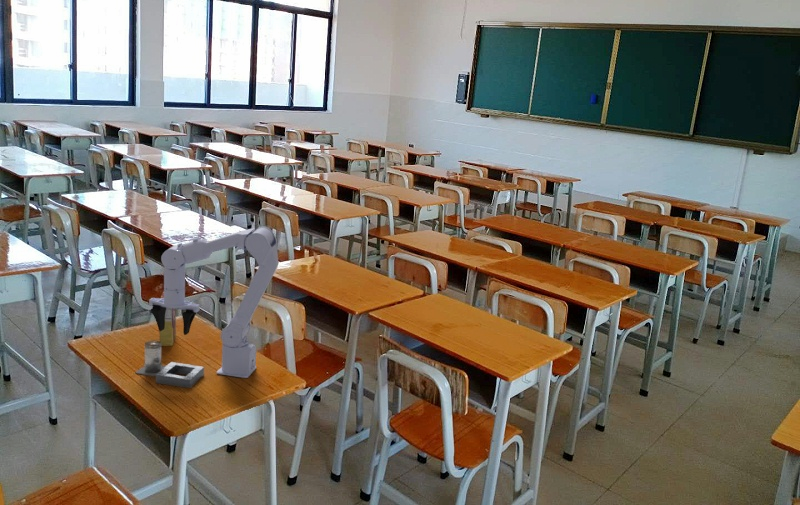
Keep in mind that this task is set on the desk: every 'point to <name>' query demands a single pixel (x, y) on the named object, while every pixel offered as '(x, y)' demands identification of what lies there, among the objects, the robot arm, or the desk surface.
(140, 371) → the mat
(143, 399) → the desk surface
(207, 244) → the robot arm
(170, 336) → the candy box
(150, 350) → the metal cylinder
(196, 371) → the housing
